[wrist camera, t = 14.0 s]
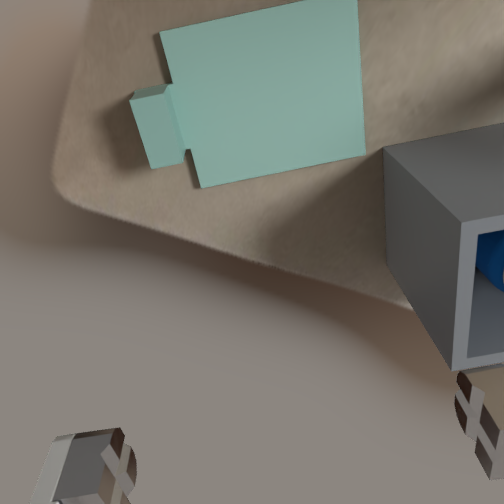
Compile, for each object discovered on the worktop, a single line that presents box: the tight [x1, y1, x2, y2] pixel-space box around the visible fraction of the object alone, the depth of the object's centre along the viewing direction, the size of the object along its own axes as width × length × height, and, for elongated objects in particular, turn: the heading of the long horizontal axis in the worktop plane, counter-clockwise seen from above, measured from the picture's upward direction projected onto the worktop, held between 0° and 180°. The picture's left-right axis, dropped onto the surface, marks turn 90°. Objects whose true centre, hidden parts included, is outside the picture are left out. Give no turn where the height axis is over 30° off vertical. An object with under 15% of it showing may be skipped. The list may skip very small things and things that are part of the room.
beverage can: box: [475, 230, 504, 292], centre depth 34 cm, size 6×6×12 cm
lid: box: [129, 0, 366, 188], centre depth 33 cm, size 12×17×4 cm
